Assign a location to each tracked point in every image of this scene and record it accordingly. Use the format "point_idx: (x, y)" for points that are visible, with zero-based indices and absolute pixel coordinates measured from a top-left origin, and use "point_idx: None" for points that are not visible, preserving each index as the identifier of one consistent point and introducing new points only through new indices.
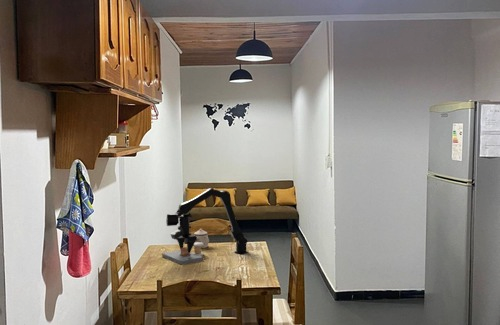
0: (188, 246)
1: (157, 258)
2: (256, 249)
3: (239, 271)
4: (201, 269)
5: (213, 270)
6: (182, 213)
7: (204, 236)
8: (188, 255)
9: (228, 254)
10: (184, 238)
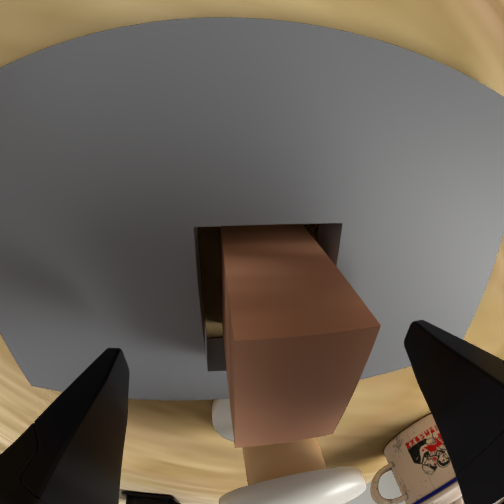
0: (18, 444)
1: (467, 23)
2: None
3: None
4: None
5: None
6: None
7: (409, 498)
8: (175, 321)
9: (150, 481)
10: (469, 500)
